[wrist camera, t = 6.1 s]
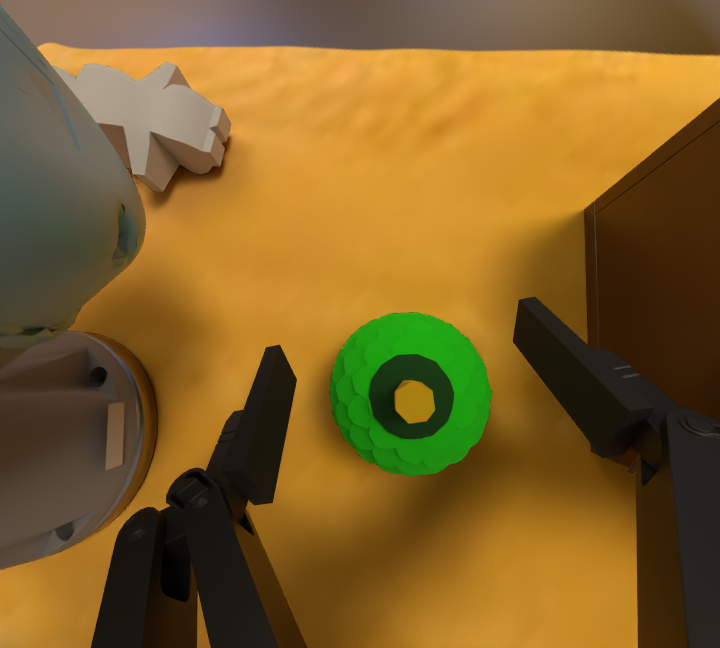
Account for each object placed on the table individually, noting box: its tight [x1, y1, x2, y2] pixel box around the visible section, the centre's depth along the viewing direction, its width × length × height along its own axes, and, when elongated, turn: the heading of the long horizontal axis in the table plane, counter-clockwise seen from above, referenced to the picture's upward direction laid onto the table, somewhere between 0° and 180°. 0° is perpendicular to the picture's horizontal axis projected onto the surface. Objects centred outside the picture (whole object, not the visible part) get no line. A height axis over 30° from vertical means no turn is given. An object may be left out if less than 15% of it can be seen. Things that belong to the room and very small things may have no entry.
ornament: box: [330, 312, 492, 476], centre depth 14 cm, size 8×8×10 cm
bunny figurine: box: [52, 62, 231, 192], centre depth 22 cm, size 10×5×15 cm
